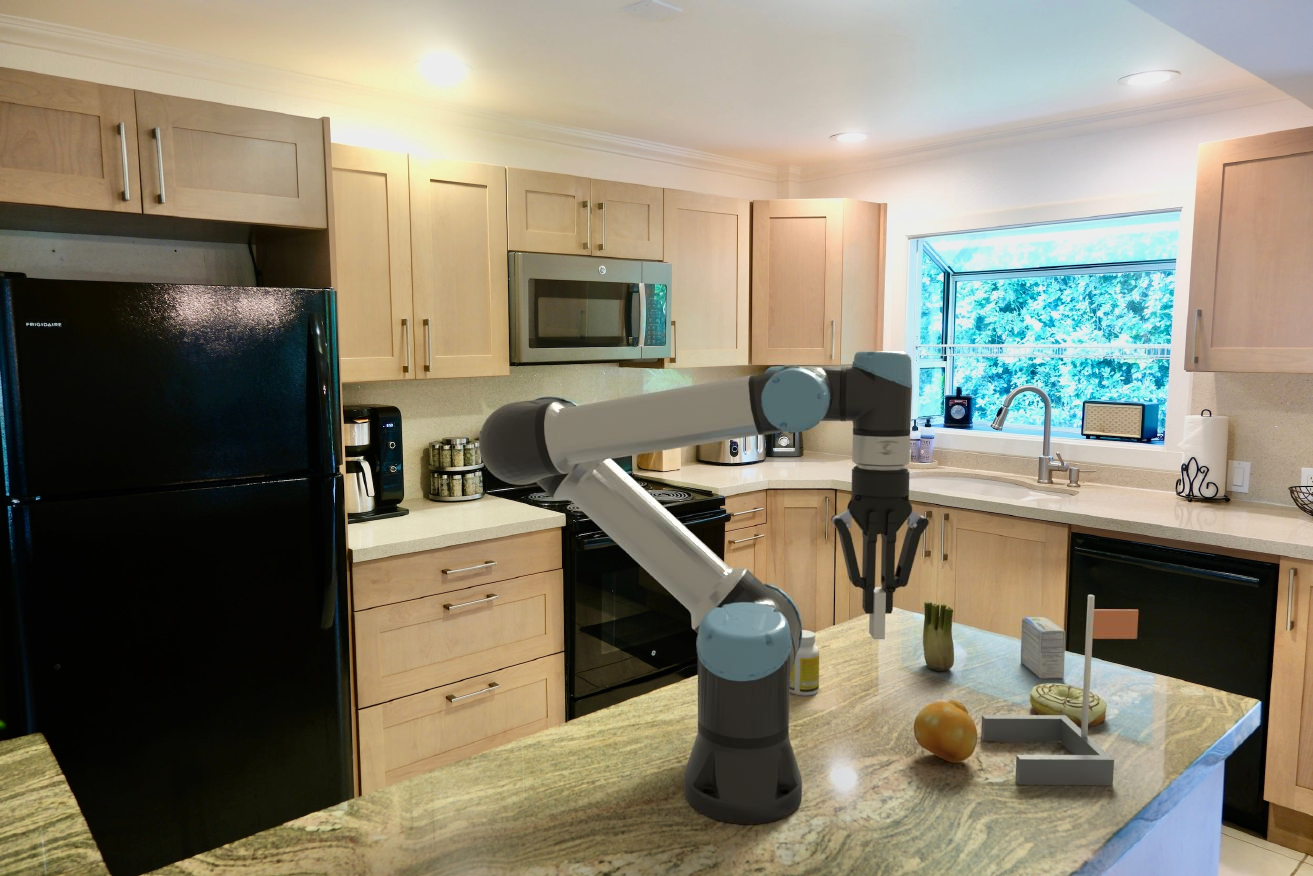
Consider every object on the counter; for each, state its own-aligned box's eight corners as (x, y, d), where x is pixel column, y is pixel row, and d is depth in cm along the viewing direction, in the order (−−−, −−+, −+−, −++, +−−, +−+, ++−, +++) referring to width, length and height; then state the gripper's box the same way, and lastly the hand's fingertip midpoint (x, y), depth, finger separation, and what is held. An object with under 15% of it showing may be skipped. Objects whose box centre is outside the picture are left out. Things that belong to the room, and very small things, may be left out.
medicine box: (1064, 679, 144) (1066, 631, 143) (1038, 679, 144) (1040, 631, 143) (1044, 662, 152) (1046, 616, 151) (1019, 662, 152) (1021, 616, 151)
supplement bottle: (823, 688, 141) (824, 632, 140) (811, 699, 136) (812, 641, 135) (793, 681, 144) (794, 626, 143) (781, 692, 139) (781, 635, 138)
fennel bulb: (918, 663, 152) (920, 599, 151) (944, 661, 153) (946, 598, 151) (932, 675, 146) (934, 608, 145) (958, 673, 147) (961, 607, 146)
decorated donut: (1100, 737, 123) (1101, 712, 123) (1023, 719, 129) (1024, 695, 129) (1109, 711, 132) (1111, 688, 131) (1036, 696, 138) (1037, 674, 137)
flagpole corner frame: (1019, 784, 109) (1026, 610, 107) (981, 737, 122) (987, 582, 120) (1157, 785, 109) (1168, 610, 106) (1104, 738, 122) (1112, 582, 120)
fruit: (950, 742, 121) (952, 689, 120) (989, 769, 113) (991, 712, 112) (902, 751, 118) (903, 697, 118) (938, 778, 111) (940, 721, 110)
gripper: (837, 469, 108) (834, 645, 111) (938, 469, 108) (933, 645, 110) (826, 462, 116) (824, 627, 118) (920, 462, 115) (916, 627, 118)
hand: (876, 635), depth 114 cm, fingers closed
